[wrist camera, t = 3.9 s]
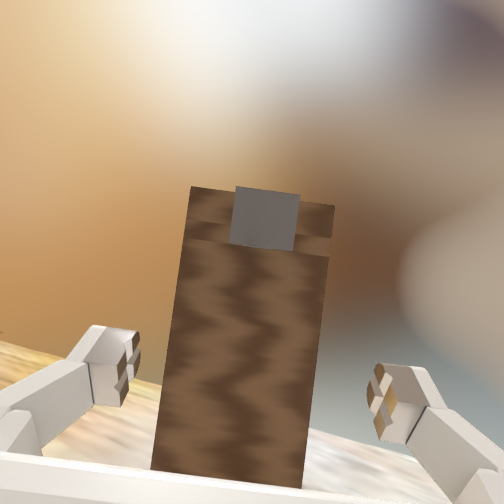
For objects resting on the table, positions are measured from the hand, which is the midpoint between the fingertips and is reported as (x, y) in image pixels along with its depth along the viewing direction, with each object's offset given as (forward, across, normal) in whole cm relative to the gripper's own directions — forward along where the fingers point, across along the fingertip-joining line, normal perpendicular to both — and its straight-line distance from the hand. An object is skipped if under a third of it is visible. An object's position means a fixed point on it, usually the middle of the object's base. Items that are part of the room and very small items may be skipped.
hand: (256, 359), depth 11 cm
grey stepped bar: (+17, 0, -4) cm, 17 cm away
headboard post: (+11, 0, -30) cm, 32 cm away
